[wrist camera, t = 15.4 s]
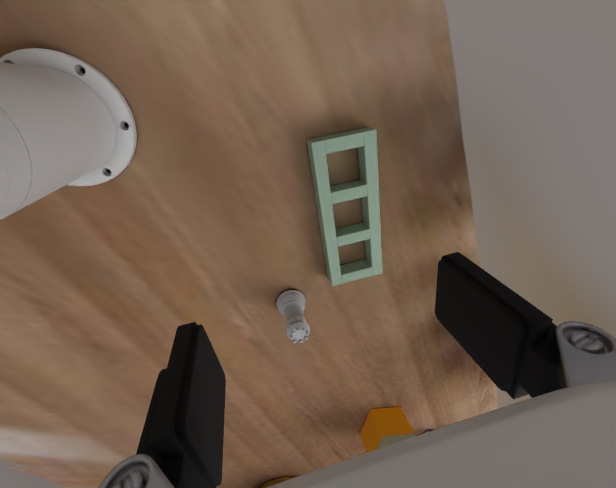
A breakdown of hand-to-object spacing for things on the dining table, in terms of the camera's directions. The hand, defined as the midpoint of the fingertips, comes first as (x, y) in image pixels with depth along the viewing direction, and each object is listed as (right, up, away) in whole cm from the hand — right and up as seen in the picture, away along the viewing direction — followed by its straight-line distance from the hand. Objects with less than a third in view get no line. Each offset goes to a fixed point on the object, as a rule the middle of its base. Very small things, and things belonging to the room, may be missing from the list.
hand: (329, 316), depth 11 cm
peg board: (+4, +7, +30) cm, 31 cm away
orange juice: (+16, -38, +56) cm, 69 cm away
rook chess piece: (-4, -6, +35) cm, 36 cm away
